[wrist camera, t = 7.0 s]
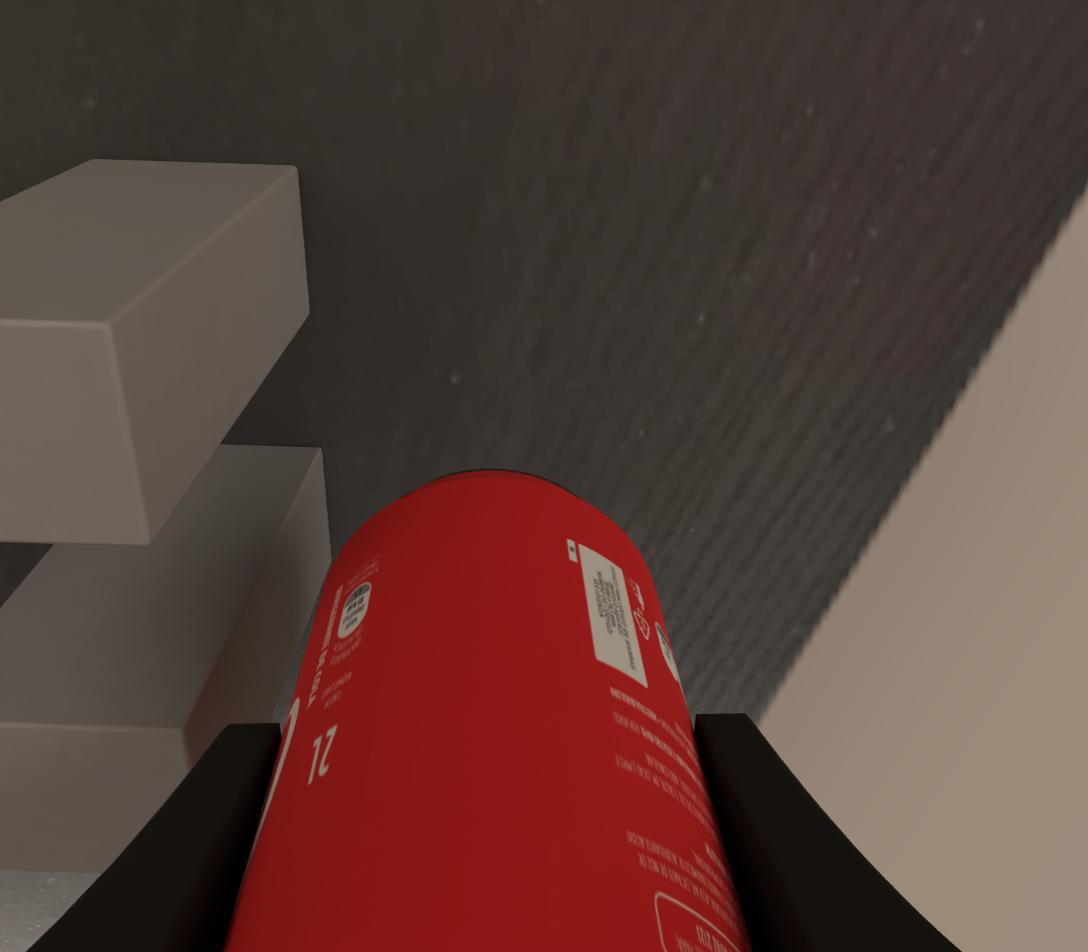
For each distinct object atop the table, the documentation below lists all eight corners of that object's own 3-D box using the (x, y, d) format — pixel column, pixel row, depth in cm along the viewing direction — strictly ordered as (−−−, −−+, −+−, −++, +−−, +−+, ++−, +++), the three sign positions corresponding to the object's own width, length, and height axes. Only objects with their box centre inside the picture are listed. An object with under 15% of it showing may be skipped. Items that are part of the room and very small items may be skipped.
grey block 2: (322, 446, 22) (184, 731, 14) (332, 561, 24) (211, 880, 16) (140, 439, 22) (-100, 720, 14) (161, 555, 24) (-47, 870, 16)
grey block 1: (298, 164, 19) (108, 323, 11) (311, 315, 21) (150, 549, 13) (89, 157, 19) (-246, 311, 11) (116, 308, 21) (-166, 539, 13)
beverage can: (608, 733, 18) (783, 1866, 7) (313, 694, 17) (16, 1881, 6) (684, 474, 16) (1103, 1547, 5) (350, 418, 15) (-9, 1517, 4)
